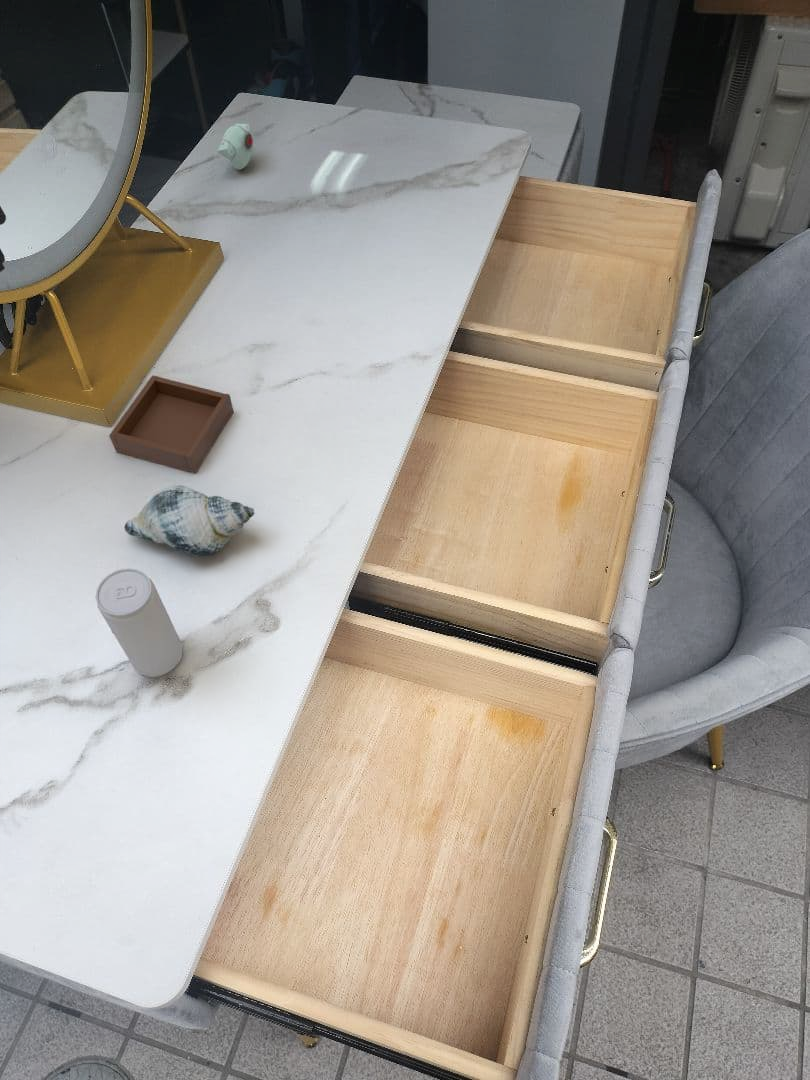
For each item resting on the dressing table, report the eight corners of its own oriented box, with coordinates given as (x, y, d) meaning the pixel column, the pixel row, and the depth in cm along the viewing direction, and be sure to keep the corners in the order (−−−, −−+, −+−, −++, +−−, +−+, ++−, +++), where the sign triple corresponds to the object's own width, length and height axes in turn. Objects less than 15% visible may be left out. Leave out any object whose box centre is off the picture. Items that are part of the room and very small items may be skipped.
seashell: (168, 507, 89) (256, 553, 86) (117, 534, 83) (210, 585, 80) (171, 456, 86) (263, 502, 82) (118, 481, 80) (215, 532, 76)
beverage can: (131, 639, 78) (93, 572, 68) (182, 629, 79) (151, 561, 69) (133, 684, 76) (94, 621, 66) (186, 673, 76) (154, 610, 66)
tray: (116, 452, 92) (108, 435, 89) (158, 392, 97) (152, 374, 95) (195, 474, 90) (190, 457, 88) (234, 411, 95) (229, 394, 93)
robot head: (242, 152, 126) (235, 109, 121) (266, 158, 126) (260, 114, 120) (218, 180, 122) (209, 136, 117) (242, 185, 121) (235, 141, 116)
